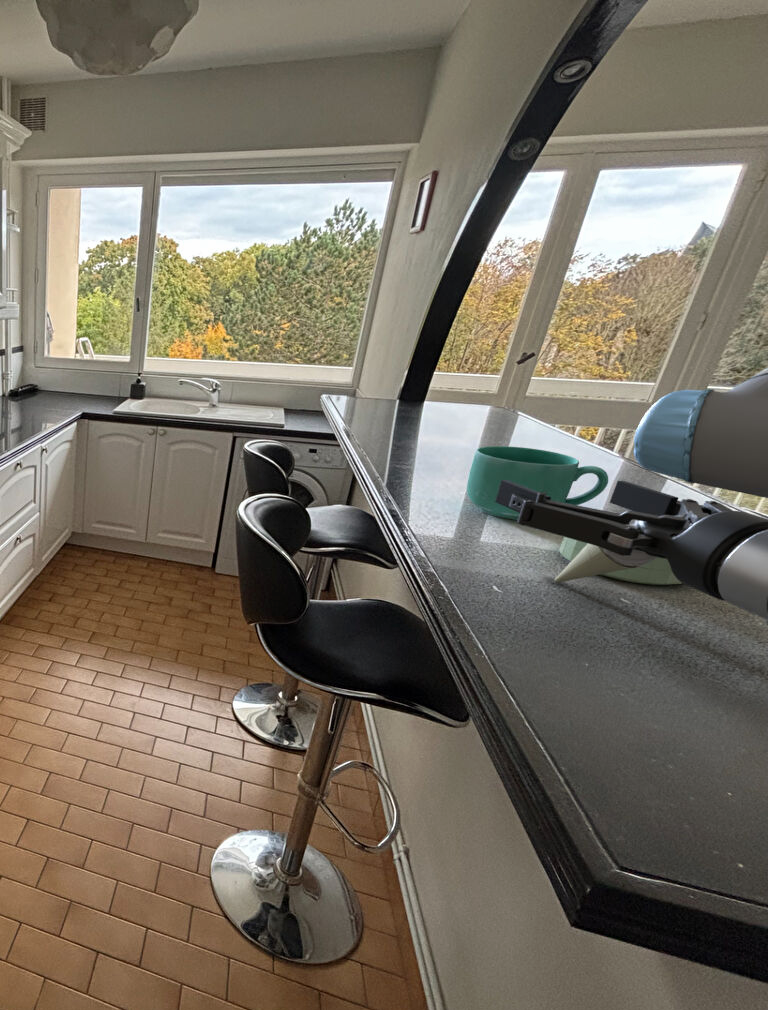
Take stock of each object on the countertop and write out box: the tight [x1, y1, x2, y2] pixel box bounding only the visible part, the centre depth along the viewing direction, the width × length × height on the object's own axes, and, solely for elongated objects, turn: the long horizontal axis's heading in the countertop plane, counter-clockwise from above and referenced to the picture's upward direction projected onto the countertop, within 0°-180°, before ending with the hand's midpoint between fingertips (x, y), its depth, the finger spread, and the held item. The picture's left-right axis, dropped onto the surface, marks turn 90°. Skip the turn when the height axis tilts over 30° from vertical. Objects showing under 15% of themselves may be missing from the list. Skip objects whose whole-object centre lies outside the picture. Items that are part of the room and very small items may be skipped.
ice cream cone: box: [554, 514, 688, 584], centre depth 64 cm, size 5×5×15 cm
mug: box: [466, 445, 609, 521], centre depth 91 cm, size 17×13×10 cm
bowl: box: [559, 536, 683, 586], centre depth 74 cm, size 12×12×4 cm
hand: (558, 491), depth 70 cm, fingers open, 13 cm apart
